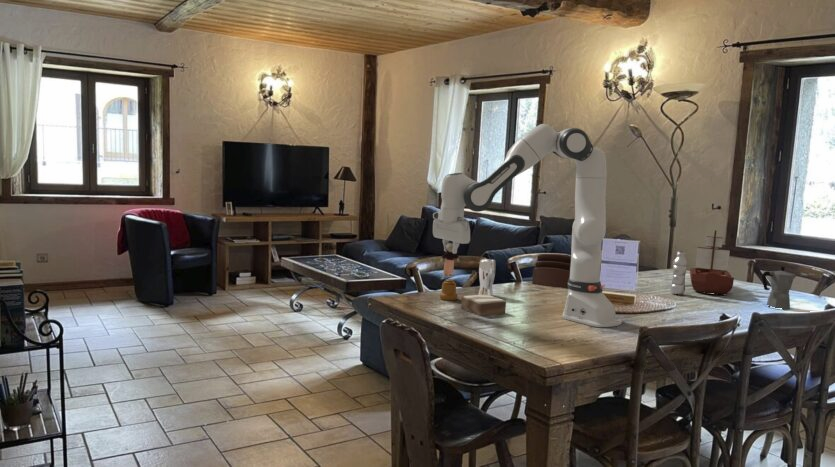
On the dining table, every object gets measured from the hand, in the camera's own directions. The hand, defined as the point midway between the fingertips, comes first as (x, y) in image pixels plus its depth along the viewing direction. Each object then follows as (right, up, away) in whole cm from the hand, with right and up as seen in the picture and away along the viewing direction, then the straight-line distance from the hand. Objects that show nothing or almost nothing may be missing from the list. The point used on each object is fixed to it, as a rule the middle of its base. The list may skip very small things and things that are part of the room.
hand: (450, 252), depth 243 cm
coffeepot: (+143, -25, +36) cm, 150 cm away
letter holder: (+53, -18, +63) cm, 84 cm away
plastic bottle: (+107, -21, +53) cm, 122 cm away
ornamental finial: (0, -20, +21) cm, 29 cm away
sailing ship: (+130, -20, +71) cm, 149 cm away
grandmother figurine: (0, -9, +1) cm, 9 cm away
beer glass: (+17, -19, +32) cm, 41 cm away
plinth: (+13, -23, +3) cm, 26 cm away
